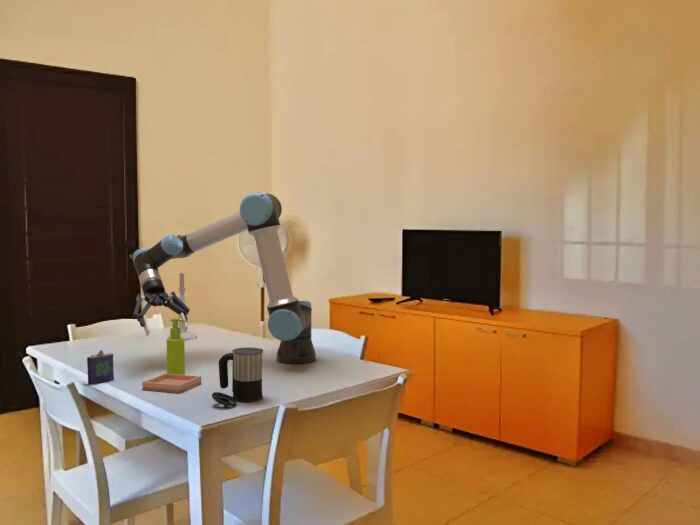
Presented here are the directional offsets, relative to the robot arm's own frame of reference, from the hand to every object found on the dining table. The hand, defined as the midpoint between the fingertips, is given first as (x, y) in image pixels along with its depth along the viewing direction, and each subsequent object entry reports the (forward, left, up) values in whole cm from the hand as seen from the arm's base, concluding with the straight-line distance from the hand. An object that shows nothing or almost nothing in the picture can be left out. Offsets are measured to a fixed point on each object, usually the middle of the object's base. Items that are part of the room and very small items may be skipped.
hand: (167, 331), depth 226 cm
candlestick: (+33, -61, -15) cm, 71 cm away
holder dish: (-12, +15, -15) cm, 24 cm away
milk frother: (-40, +23, -15) cm, 49 cm away
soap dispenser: (-6, +3, -15) cm, 16 cm away
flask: (+14, +17, -15) cm, 27 cm away
